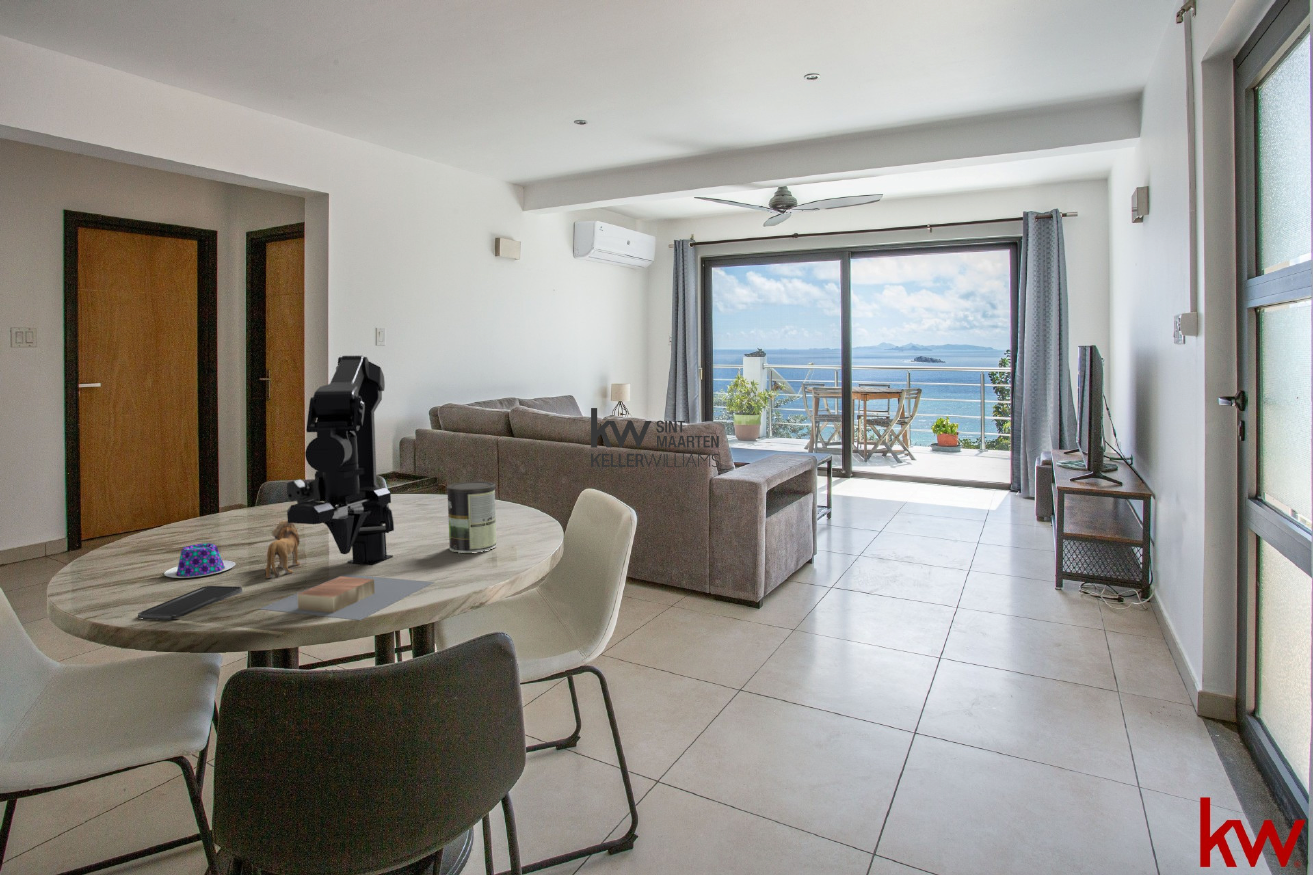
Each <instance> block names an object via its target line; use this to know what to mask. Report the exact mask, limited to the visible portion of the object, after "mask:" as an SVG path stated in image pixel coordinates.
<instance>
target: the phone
mask: <svg viewBox="0 0 1313 875" xmlns="http://www.w3.org/2000/svg"><path fill="white" fill-rule="evenodd" d="M242 588H243V587H242V586H228V585H227V586H226V585H207V586H206V585H205V586H202V587H200V588H197V589H194V590H192V591H190V592H187V593H184V594H182V595H179V596H177V597H175V598H171V599H169V600H167V601H165V602H162V603H160V604H157V605H155V606H152V607H150V608H148V609H145V610H142V611H140V612H137V617H138V618H143V619H142V620H146V619H158V620H157V621H170V622H172V621H179V620H181V619H180V618H181V617H184V616H187V615H188V614H191V613H193V612H195V611H198V610H200V609H202V608H205V607H207V606H209V605H212V604H215V603H218V602H220V601H223V600H226V599H229V598H231V597H234V596H237V595H239V594H241V593H243V589H242Z"/></svg>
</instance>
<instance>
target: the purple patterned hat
mask: <svg viewBox="0 0 1313 875" xmlns="http://www.w3.org/2000/svg"><path fill="white" fill-rule="evenodd" d="M218 548H219V547H218V546H217V545H216V544H213V543H210V542H209V543H198V544H197V543H196V544H191V545H188V546H184V547H182V549H181V551H180V556H179V559H178V561H179V562H178V564H177V566H175V567H172V568H170V569H167V570H166V571H164V573H163V575H164V576H166V577H168V578H173V579H174V578H178V579H185V578H186V579H187V578H188V579H189V578H199V577H204V576H210V575H214V574H219V573H222V572H226V571H227V570H230V569H232V568H234V567H235V566H236V562H234V561H231V560H226V559H225V560H224V559H223V558H222V557H221V553H220V551H219V549H218Z"/></svg>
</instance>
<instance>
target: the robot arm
mask: <svg viewBox="0 0 1313 875" xmlns="http://www.w3.org/2000/svg"><path fill="white" fill-rule="evenodd" d="M330 380H331V381H330V383H327V384H326V385H322V386H319V387H318V388H317V389H316V391H314V393H313V396H311V397H310V399H309V405H308V411H307V413H308V414H307V421H306V433H316V437H315V438H313V439H311V441H310V442H309V443H308V445H307V446H306V449H305V451H304V452H305V453H304V456H305V460H306V462H307V464H308V465H309V466H310V467H311V468H312V469H313V470H315V473H314V480H312V481H309V482H304V481H303V480H302V479H297V480H296V479H295V480H292V481H290V482H288V483H287V484H286V494H287V497H288V500H289V501H290V502H297V503H294V504H292V505H290V506H289V507H288V509H287V510H286V515H287V521H288V523H293V524H303V525H304V524H305V525H320V524H324V525H325V526H327V528H328V530H329V531H330V533H331V535H332V537H333V539H334V541H335V544H336V547H337V548H338V550H339V553H340V554H341V555H347V554H350V552H351V551H352V552H351V553H352V554H351V555H352V559H350V560H347V564H354V565H365V566H367V565H369V566H374V565H377V564H380V563H383V562H384V561H387V560H389V559H391V558H394V555H392V554H388V553H387V536H386V534H389V533H391V532H394V531H395V524H394V516H393V512H392V509H391V508H390V506H389V504H391V503H392V499H391V498H392V496H391V494H392V493H391V492H390V490H389V489H388V488H387V487H380V486H379V484H378V482H377V459H376V458H377V455H376V428H375V411H376V410H377V408H378V407H379V405H380V403H381V402H382V399H383V396H382V395H383V392H385V387H386V386H385V384H386V382H385V375H384V373H383V370H382V367H380V366H379V365H377V364H375V363H373V362H371V361H369V358H368V357H367V356H363V355H342V356H339V357H338V358H337V366H336V367H335V372H334V374H333V376H332V378H331V379H330ZM351 549H352V550H351Z"/></svg>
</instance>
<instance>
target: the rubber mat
mask: <svg viewBox="0 0 1313 875" xmlns="http://www.w3.org/2000/svg"><path fill="white" fill-rule="evenodd" d="M340 576H342V577H354V578H365V579H374V589H375V593H374V594H372V595H370V596H368V597H366V598H364V599H362V600H360V601H357V602H355V603H353V604H351V605H349V606H347V607H345V608H343V609H340V610H338V611H336V612H334V613H332V612H322V611H313V610H304V609H298V596H297V594H299V593H301V592H304V591H306V590H308V589H311V588H313V587H316V586H318V585H321V584H323V583H326V582H328V581H331V580H333V579H336V578H338V577H340ZM433 584H435V581H426V580H425V581H424V580H415V579H404V578H393V577H384V576H383V577H382V576H381V577H380V576H368V575H359V574H357V575H356V574H346V573H345V574H341V575H338V576H336V577H334V578H331V579H329V580H327V581H325V582H321V583H319V584H316V585H314V586H312V587H309V588H307V589H305V590H302V591H299V592H297V593H296V592H295V593H294V594H292V595H290V596H287V597H285V598H282V599H280V600H277V601H274V602H272V603H270V604H266V605H264V606H262V607H260V608H258V610H263V611H264V610H265V611H272V612H273V611H274V612H281V613H282V612H283V613H291V614H299V615H308V616H309V615H310V616H318V617H325V618H326V617H327V618H337V619H345V620H346V619H347V620H354V621H362V620H364V619H366V618H368V617H369V616H371V615H373V614H376V613H377V612H379V611H381V610H383V609H385V608H387V607H389V606H391V605H393V604H395V603H397V602H399V601H401V600H403V599H404V598H407V597H409V596H410V595H413V594H415V593H416V592H418V591H421V590H423V589H425V588H426V587H428V586H431V585H433Z"/></svg>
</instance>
